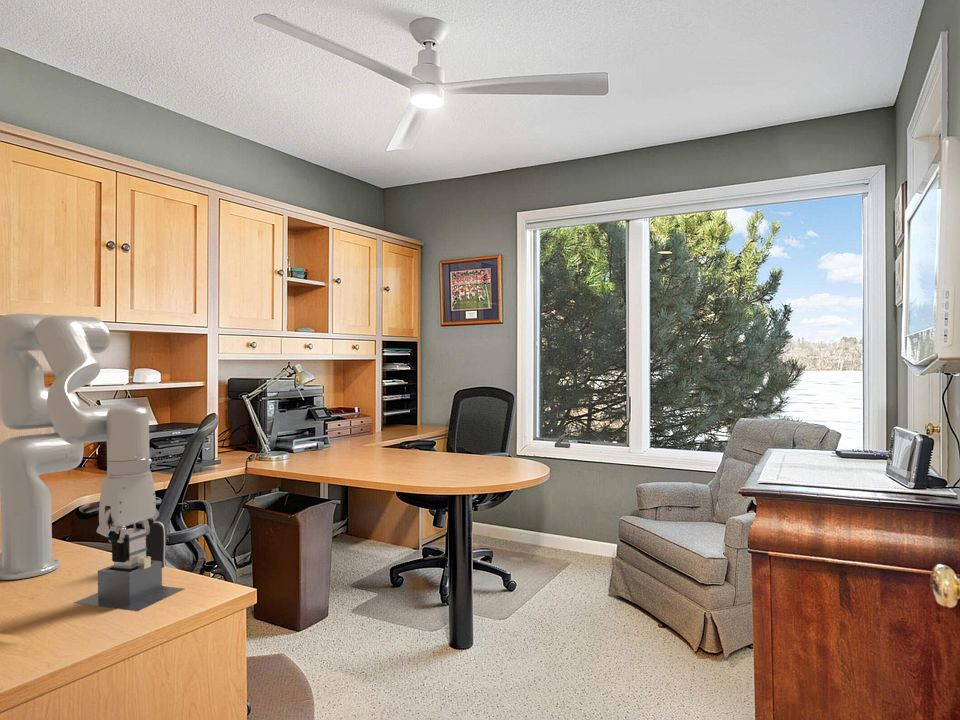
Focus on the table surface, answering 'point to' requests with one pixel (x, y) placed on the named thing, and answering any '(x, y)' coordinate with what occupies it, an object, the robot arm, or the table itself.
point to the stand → (130, 587)
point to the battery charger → (157, 541)
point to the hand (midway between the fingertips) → (130, 556)
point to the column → (133, 549)
